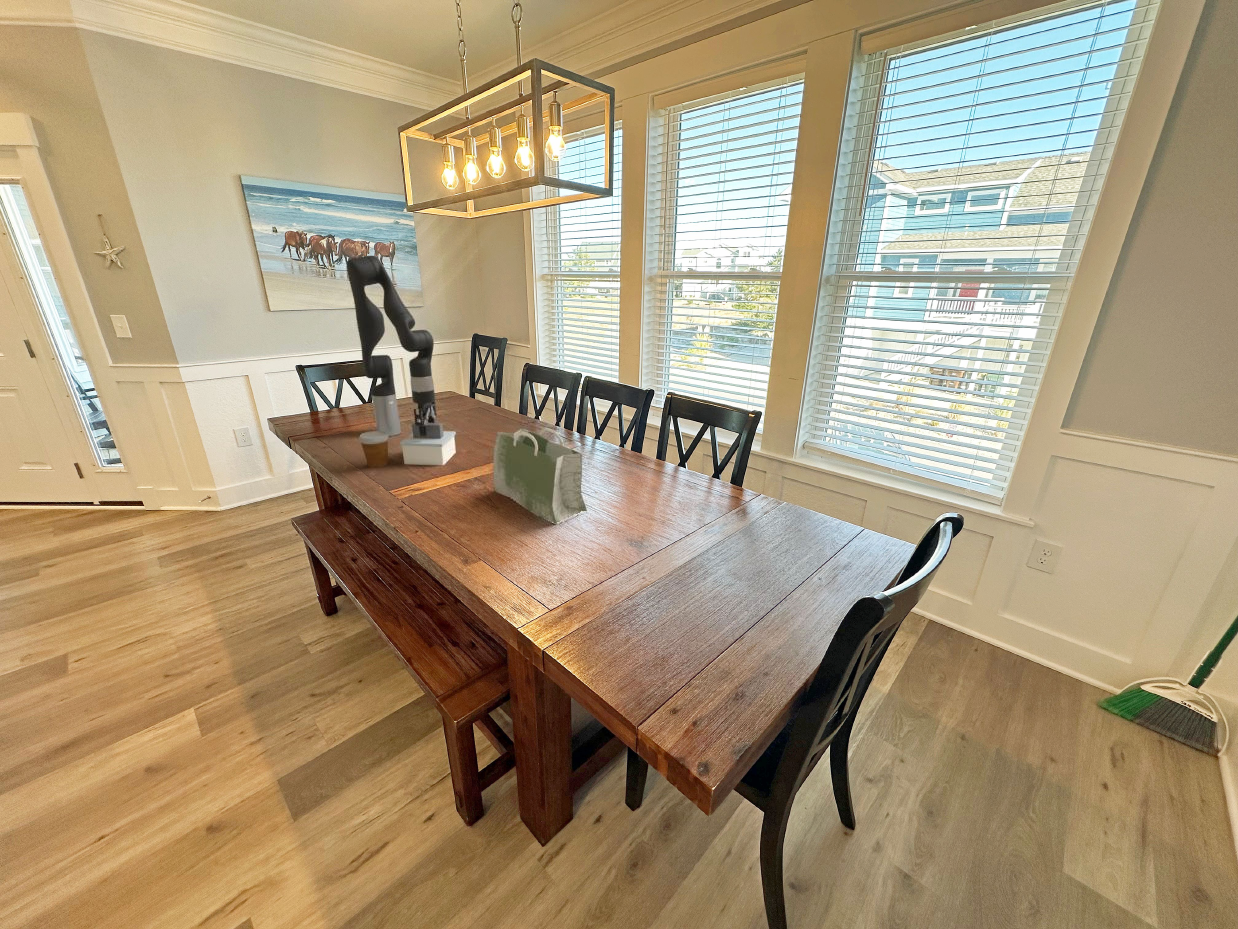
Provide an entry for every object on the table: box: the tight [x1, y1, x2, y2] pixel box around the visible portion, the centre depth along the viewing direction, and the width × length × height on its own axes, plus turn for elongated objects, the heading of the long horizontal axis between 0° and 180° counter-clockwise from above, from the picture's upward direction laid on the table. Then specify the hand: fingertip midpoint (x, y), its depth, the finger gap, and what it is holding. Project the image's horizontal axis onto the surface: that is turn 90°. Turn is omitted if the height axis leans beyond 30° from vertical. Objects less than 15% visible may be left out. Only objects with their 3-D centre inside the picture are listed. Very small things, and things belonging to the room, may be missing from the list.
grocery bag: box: [492, 427, 588, 525], centre depth 148 cm, size 32×14×23 cm, turn 46°
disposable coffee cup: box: [358, 430, 390, 469], centre depth 172 cm, size 10×10×12 cm
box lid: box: [399, 422, 457, 447], centre depth 178 cm, size 15×15×7 cm
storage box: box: [401, 435, 457, 466], centre depth 181 cm, size 14×14×8 cm
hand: (427, 432), depth 178 cm, fingers open, 8 cm apart
